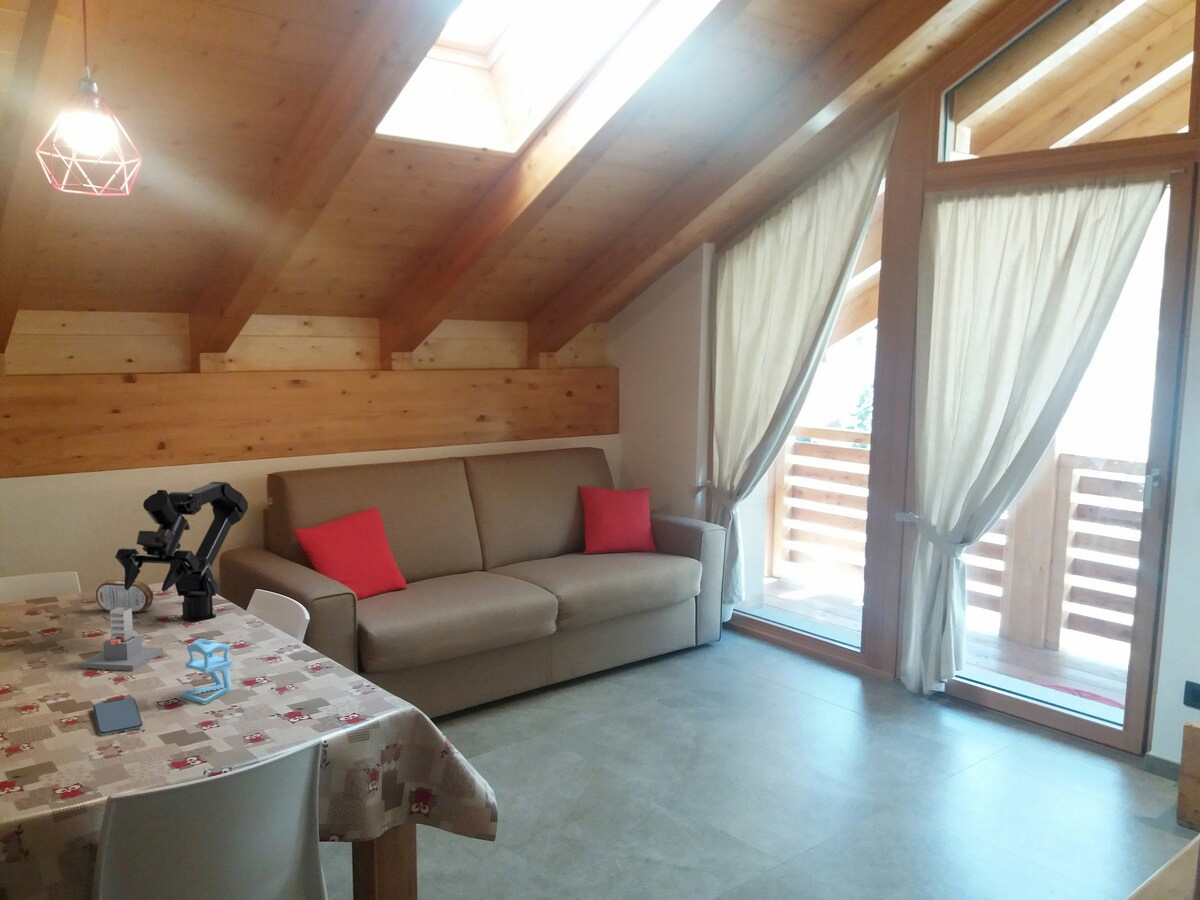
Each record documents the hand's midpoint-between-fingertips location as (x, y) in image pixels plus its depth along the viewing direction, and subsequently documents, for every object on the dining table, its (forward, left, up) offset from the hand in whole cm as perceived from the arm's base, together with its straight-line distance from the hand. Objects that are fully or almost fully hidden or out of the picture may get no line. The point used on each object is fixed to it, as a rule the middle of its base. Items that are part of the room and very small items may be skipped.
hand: (144, 590), depth 222 cm
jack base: (+8, +5, -14) cm, 17 cm away
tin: (-10, -33, -14) cm, 37 cm away
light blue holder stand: (+6, +39, -14) cm, 42 cm away
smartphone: (+24, +37, -15) cm, 46 cm away
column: (+8, +5, -12) cm, 16 cm away
